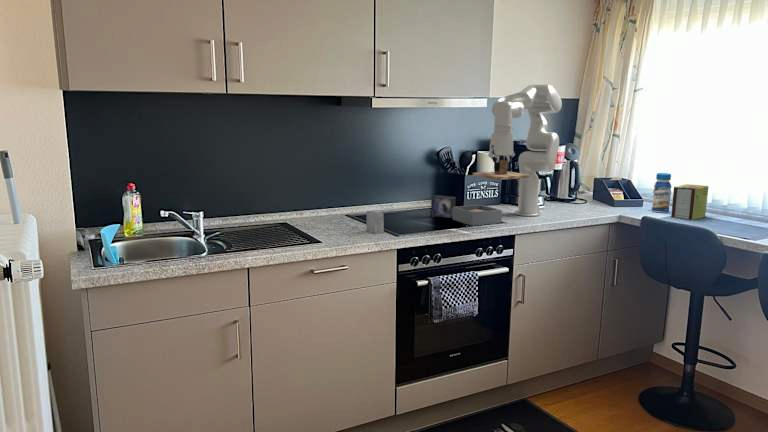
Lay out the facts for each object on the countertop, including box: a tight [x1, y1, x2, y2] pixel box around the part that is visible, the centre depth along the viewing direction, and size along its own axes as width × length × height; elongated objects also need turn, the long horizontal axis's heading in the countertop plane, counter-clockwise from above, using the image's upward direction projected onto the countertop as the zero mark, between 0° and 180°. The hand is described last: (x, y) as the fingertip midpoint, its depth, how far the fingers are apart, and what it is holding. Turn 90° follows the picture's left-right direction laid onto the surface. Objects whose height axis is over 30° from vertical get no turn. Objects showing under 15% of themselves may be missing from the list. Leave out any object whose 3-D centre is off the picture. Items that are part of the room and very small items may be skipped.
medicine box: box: [365, 210, 385, 235], centre depth 248 cm, size 8×4×9 cm, turn 30°
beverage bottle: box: [651, 172, 672, 214], centre depth 301 cm, size 8×8×20 cm
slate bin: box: [452, 204, 503, 227], centre depth 268 cm, size 16×16×7 cm
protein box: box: [670, 183, 709, 221], centre depth 287 cm, size 10×15×16 cm
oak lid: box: [472, 159, 530, 181], centre depth 260 cm, size 18×18×7 cm
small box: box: [430, 194, 457, 219], centre depth 281 cm, size 11×6×10 cm, turn 62°
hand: (501, 170), depth 261 cm, fingers closed on oak lid, 4 cm apart
